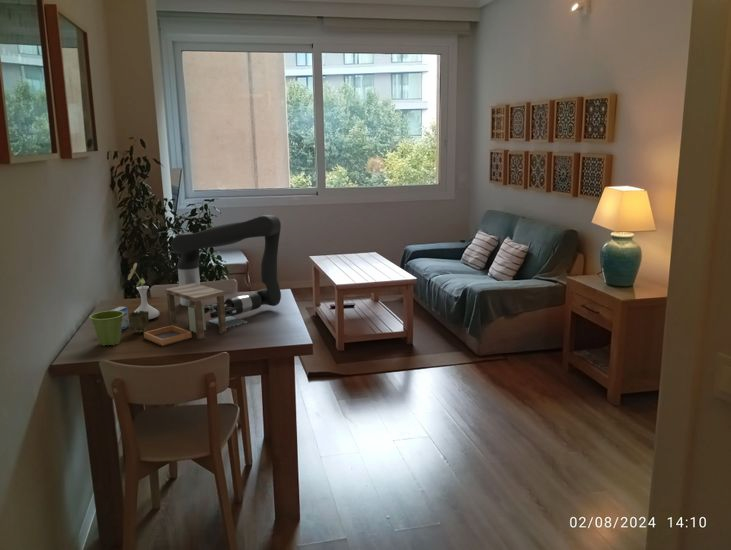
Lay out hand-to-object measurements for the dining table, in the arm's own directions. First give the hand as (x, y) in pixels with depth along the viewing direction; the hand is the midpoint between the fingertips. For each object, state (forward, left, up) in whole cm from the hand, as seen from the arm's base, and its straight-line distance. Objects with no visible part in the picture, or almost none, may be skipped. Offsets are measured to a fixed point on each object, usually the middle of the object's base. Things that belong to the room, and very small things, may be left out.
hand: (204, 313), depth 240 cm
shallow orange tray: (0, -17, -6) cm, 18 cm away
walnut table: (0, -4, -6) cm, 7 cm away
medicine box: (-26, -24, -6) cm, 36 cm away
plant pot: (-12, -34, -6) cm, 36 cm away
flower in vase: (-32, -10, -6) cm, 34 cm away
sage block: (0, -4, -6) cm, 7 cm away
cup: (-16, -20, -6) cm, 26 cm away
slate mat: (0, +10, -6) cm, 12 cm away
